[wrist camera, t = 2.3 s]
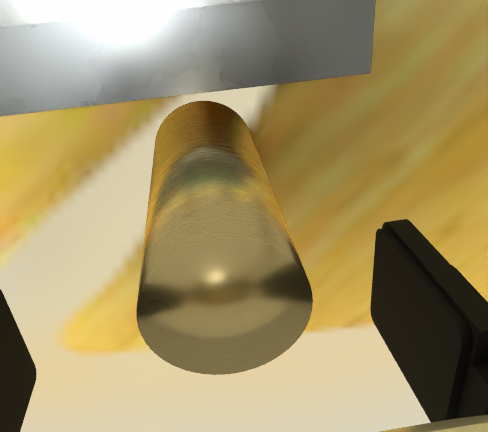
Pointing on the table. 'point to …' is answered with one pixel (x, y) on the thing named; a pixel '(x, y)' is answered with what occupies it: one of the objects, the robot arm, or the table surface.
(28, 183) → the table surface
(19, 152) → the table surface
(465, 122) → the table surface
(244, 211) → the peg
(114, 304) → the table surface
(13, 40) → the socket plate
